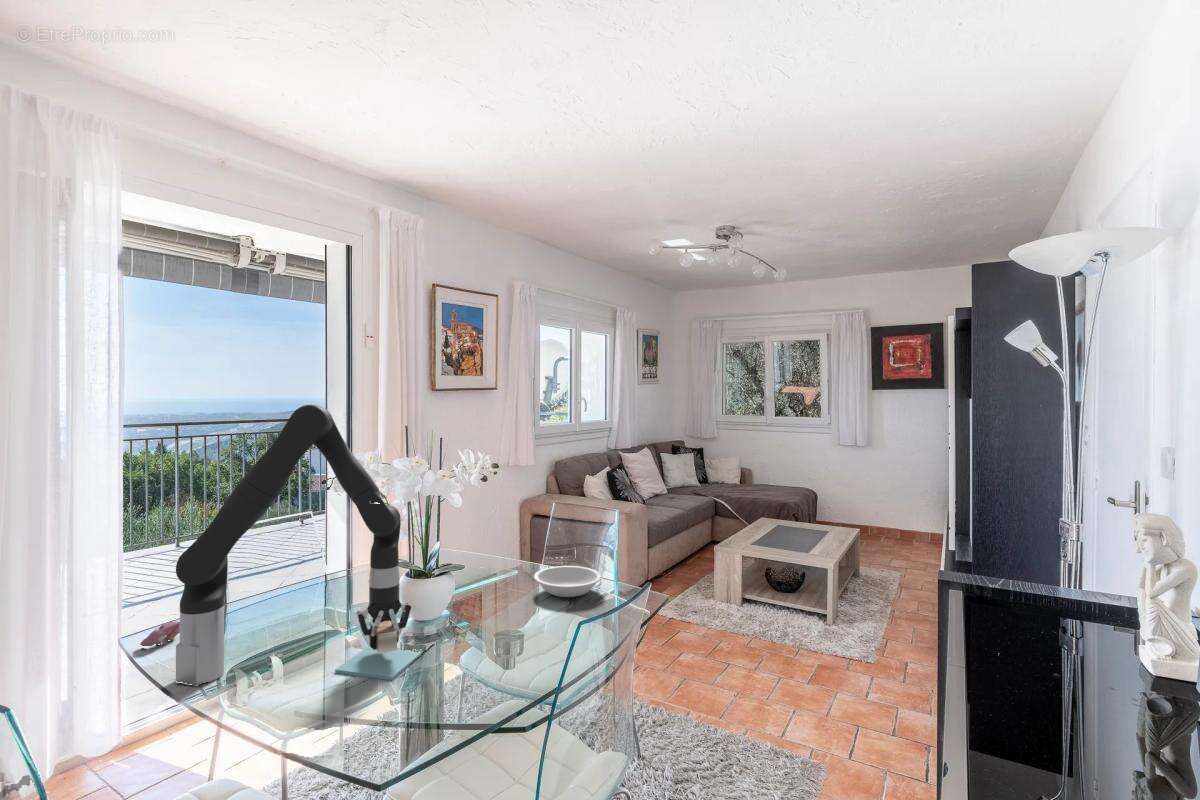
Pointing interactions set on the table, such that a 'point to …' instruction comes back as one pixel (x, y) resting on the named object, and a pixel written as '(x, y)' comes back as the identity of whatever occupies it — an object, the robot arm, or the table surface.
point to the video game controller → (162, 634)
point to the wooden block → (386, 638)
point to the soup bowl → (567, 580)
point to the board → (378, 663)
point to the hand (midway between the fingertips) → (384, 646)
